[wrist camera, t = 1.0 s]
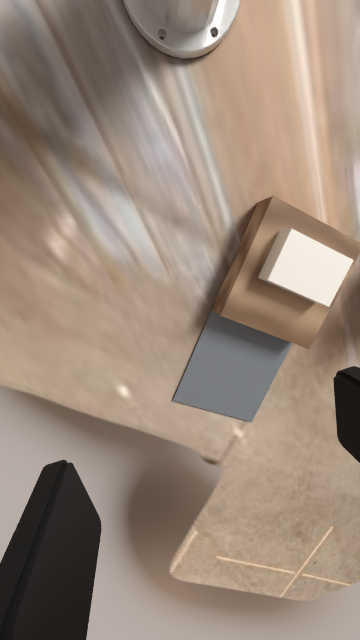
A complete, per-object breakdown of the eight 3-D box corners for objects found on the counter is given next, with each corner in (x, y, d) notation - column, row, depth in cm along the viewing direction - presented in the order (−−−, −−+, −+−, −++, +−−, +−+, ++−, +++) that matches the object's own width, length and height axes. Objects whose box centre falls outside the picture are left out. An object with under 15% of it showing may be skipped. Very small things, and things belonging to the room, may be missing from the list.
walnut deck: (257, 202, 32) (273, 195, 28) (340, 245, 35) (364, 244, 32) (211, 308, 35) (220, 315, 31) (292, 339, 38) (309, 349, 34)
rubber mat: (211, 308, 35) (212, 309, 35) (292, 339, 38) (293, 340, 38) (172, 399, 38) (172, 400, 37) (250, 420, 41) (251, 422, 41)
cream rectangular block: (279, 230, 30) (291, 228, 27) (337, 259, 32) (353, 260, 29) (257, 278, 31) (267, 280, 28) (315, 303, 33) (329, 306, 30)
